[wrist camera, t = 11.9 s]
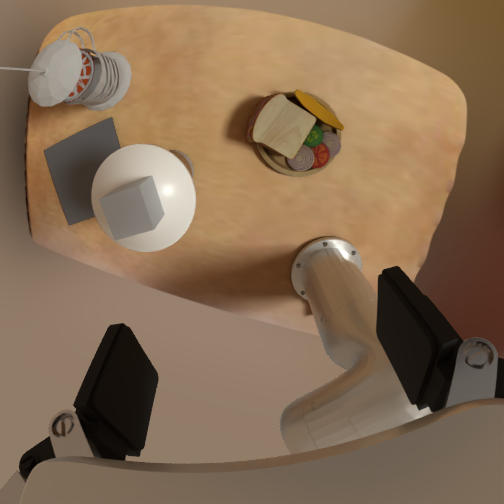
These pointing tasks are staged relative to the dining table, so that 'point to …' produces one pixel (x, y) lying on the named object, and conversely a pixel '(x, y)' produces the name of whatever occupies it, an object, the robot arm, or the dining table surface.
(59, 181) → the mat
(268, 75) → the dining table surface
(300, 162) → the toy sandwich meal
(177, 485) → the robot arm
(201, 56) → the dining table surface
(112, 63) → the french press
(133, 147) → the lid
